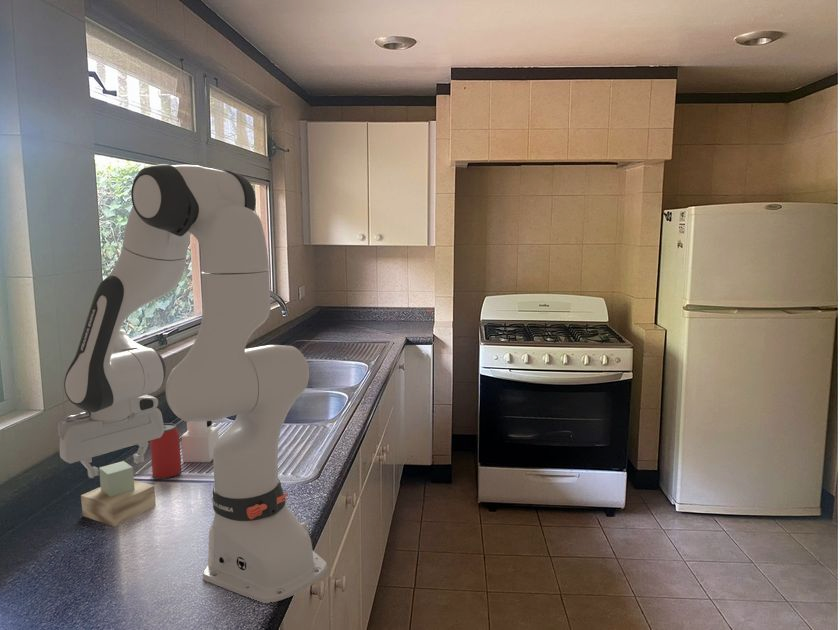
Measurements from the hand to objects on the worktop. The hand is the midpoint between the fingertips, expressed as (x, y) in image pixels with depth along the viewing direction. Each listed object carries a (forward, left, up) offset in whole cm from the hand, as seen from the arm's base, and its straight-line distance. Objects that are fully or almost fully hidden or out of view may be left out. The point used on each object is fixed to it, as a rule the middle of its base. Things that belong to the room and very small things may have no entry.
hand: (116, 469), depth 129 cm
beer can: (+10, -16, -10) cm, 21 cm away
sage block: (+1, 0, -5) cm, 5 cm away
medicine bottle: (+13, -27, -10) cm, 32 cm away
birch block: (0, 0, -10) cm, 10 cm away
